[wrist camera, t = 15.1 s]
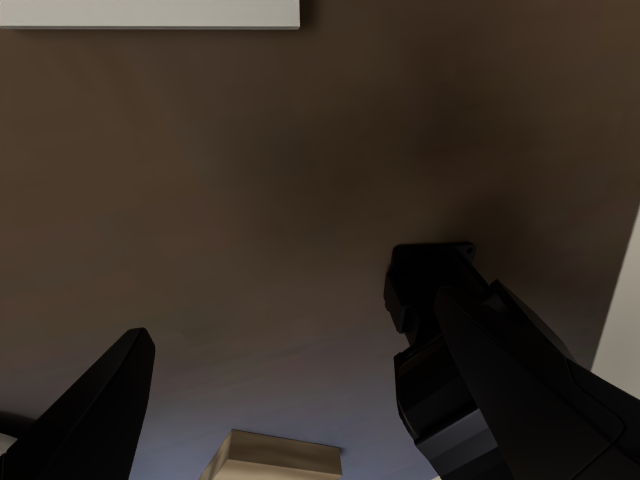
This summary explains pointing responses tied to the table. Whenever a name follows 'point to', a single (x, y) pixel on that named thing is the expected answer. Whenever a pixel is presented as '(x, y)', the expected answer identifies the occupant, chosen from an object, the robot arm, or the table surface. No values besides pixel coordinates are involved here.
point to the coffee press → (5, 442)
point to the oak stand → (272, 459)
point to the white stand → (150, 14)
